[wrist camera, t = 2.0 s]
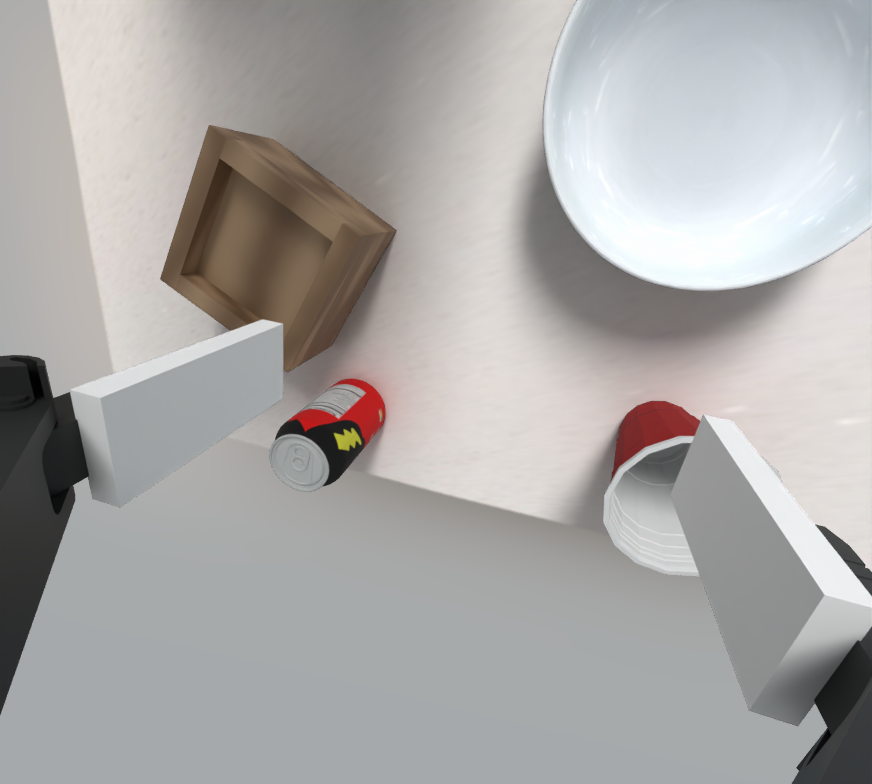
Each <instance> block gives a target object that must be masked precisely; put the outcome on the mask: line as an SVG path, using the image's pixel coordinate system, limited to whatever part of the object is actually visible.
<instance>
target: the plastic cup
mask: <svg viewBox="0 0 872 784" xmlns="http://www.w3.org/2000/svg"><path fill="white" fill-rule="evenodd" d="M700 422H701V421H699V420H698V419H697V418H695V417H694V416H692V415H690V414H689V413H687V412H686V411H685V410H684V409H683V408H682V407H679V406H676V405H674V404H671V403H668V402H666V401H650V402H647V403H644V404H641V405H638V406H636V407H635V408H634V409H633V410H631V411H630V412H629V413H628V414H627V415H626V417H625V419H624V420H623V422H622V424H621V426H620V430H619V437H618V439H617V444H616V453H615V462H614V470H613V472H612V479H611V481H610V484H609V486H608V487H607V489H606V491H605V494H604V513H603V523H604V525H605V527H606V529H607V531H608V533H609V535H610V537H611V539H612V541H613V543H614V545H615V546H616V547H617V548H618V549H619V550H620V551H622V552H623V553H624V554H626V555H627V556H628V557H629V558H630V559H631V560H633V561H634V562H635V563H636V564H639V565H641V566H644V567H647V568H650V569H653V570H655V571H658V572H661V573H664V574H671V575H689V576H700V575H699V573H698V570H697V567H696V564H695V562H694V559H693V556H692V553H691V551H690V548H689V545H688V542H687V540H686V537H685V534H684V532H683V529H682V526H681V523H680V521H679V518H678V515H677V512H676V510H675V507H674V504H673V502H672V499H671V496H670V494H671V491H672V489H673V487H674V484H675V482H676V479H677V477H678V475H679V472H680V470H681V467H682V465H683V463H684V460H685V458H686V455H687V453H688V451H689V448H690V446H691V443H692V441H693V438H694V436H695V434H696V431H697V429H698V426H699V424H700ZM760 456H761V455H760ZM761 457H762V456H761ZM762 458H763V457H762ZM763 460H764V461H765V462H766V463H767V465H768V466H769V467H770V468H771V470H772V471H773V472H774V473H775V475H776V476H777V477H778V479H779V480H780V481H781V482H782V480H781V477H780V474H779V471H778V470H776V469H775V468H774V467H773V466H772V465H771V464H770V463H769V462H768V461H767V460H765V459H764V458H763ZM782 484H783V483H782Z"/></svg>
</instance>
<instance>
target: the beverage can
mask: <svg viewBox="0 0 872 784" xmlns="http://www.w3.org/2000/svg"><path fill="white" fill-rule="evenodd" d="M384 419H385V405H384V402H383V400H382V398H381V396H380V394H379V393H378V392H377V391H376V390H375V389H374V388H373V387H372V386H371V385H369V384H368V383H366V382H364V381H361V380H358V379H345V380H341V381H339V382H337V383H336V384H334V385H333V386H332V387H331V388H329V389H328V390H327V391H325V392H324V393H323V394H322V395H320V396H319V397H318V398H316V399H315V400H314V401H313V402H311V403H310V404H309V405H307V406H306V407H305V408H304V409H302V410H301V411H300V412H298V413H297V414H296V415H295V416H293V417H292V418H291V419H290V420H288V421H287V422H286V423H284V424H283V425H282V426H281V428H280V429H279V431H278V433H277V435H276V438H275V442H274V443H273V444H272V446H271V449H270V455H269V457H270V463H271V466H272V468H273V470H274V472H275V474H276V475H277V476H278V478H279V479H280V480H281V481H282V482H283V483H285V484H286V485H287V486H289V487H291V488H293V489H296V490H298V491H304V492H311V491H315V490H317V489H319V488H321V487H322V486H326V485H329V484H331V483H333V482H335V481H336V480H337V479H338V478H339V477H340V476H341V475H342V474H343V473H344V471H345V470H346V469H347V468H348V467H349V465H350V464H351V463H352V462H353V461H354V459H355V458H356V457H357V456H358V454H359V453H360V452H361V451H362V450H363V448H364V447H365V446H366V445H367V444H368V442H369V441H370V440H371V439H372V438H373V436H374V435H375V434H376V433H377V432H378V430H379V429H380V428H381V426H382V425H383V422H384Z"/></svg>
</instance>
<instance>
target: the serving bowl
mask: <svg viewBox="0 0 872 784" xmlns="http://www.w3.org/2000/svg"><path fill="white" fill-rule="evenodd" d="M543 143H544V152H545V158H546V163H547V168H548V172H549V176H550V180H551V183H552V186H553V188H554V191H555V194H556V197H557V199H558V201H559V203H560V205H561V207H562V209H563V211H564V213H565V215H566V216H567V218H568V220H569V221H570V223H571V224H572V226H573V228H574V229H575V230H576V231H577V233H578V234H579V235H580V236H581V238H582V239H583V240H584V241H585V242H586V243H587V244H588V245H589V246H590V247H591V248H592V249H593V250H594V251H595V252H596V253H597V254H599V255H600V256H601V257H602V258H603V259H605V260H606V261H607V262H609V263H610V264H612V265H613V266H615V267H616V268H618V269H620V270H622V271H623V272H625V273H627V274H629V275H631V276H634V277H636V278H638V279H641V280H643V281H646V282H649V283H652V284H656V285H660V286H664V287H668V288H674V289H680V290H689V291H723V290H732V289H740V288H746V287H751V286H755V285H759V284H763V283H767V282H770V281H773V280H776V279H779V278H782V277H785V276H788V275H790V274H793V273H795V272H798V271H800V270H802V269H805V268H807V267H809V266H811V265H813V264H815V263H817V262H819V261H821V260H823V259H825V258H827V257H829V256H830V255H832V254H833V253H835V252H837V251H838V250H840V249H841V248H843V247H845V246H846V245H848V244H849V243H850V242H852V241H853V240H855V239H856V238H858V237H859V236H860V235H862V234H863V233H864V232H866V231H867V230H868V229H870V228H871V227H872V0H576V2H575V4H574V6H573V8H572V10H571V12H570V14H569V16H568V18H567V20H566V22H565V25H564V27H563V29H562V32H561V34H560V37H559V40H558V43H557V45H556V48H555V51H554V54H553V57H552V61H551V65H550V70H549V74H548V78H547V84H546V90H545V96H544V104H543Z"/></svg>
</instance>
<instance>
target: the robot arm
mask: <svg viewBox="0 0 872 784" xmlns="http://www.w3.org/2000/svg"><path fill="white" fill-rule="evenodd" d="M282 399H283V324H282V323H277V322H273V321H268V320H263V319H262V320H260V321H257V322H254V323H251V324H249V325H246V326H243V327H240V328H238V329H235V330H232V331H229V332H227V333H224V334H221V335H218V336H216V337H213V338H210V339H207V340H205V341H202V342H199V343H196V344H194V345H191V346H188V347H185V348H183V349H180V350H177V351H174V352H172V353H169V354H166V355H163V356H161V357H158V358H155V359H152V360H150V361H147V362H144V363H141V364H139V365H136V366H133V367H130V368H128V369H125V370H122V371H119V372H117V373H114V374H111V375H108V376H106V377H103V378H100V379H97V380H95V381H92V382H89V383H86V384H84V385H81V386H78V387H76V388H73V389H70V392H69V393H66V394H63V395H61V396H58V397H55V398H53V395H52V391H51V386H50V382H49V378H48V373H47V369H46V365H45V361H44V360H42V359H40V358H38V357H32V356H22V355H21V356H20V355H10V356H0V714H1V711H2V709H3V706H4V703H5V700H6V697H7V694H8V691H9V688H10V686H11V683H12V680H13V677H14V674H15V671H16V668H17V666H18V663H19V660H20V657H21V654H22V651H23V648H24V645H25V642H26V640H27V637H28V634H29V631H30V628H31V625H32V622H33V620H34V617H35V614H36V611H37V608H38V605H39V602H40V600H41V597H42V594H43V591H44V588H45V585H46V582H47V579H48V576H49V574H50V571H51V568H52V565H53V562H54V560H55V556H56V554H57V551H58V548H59V545H60V542H61V540H62V536H63V534H64V531H65V528H66V525H67V522H68V519H69V517H70V514H71V511H72V508H73V505H74V502H75V492H74V487H73V485H74V484H76V483H77V482H79V481H81V480H83V479H85V478H86V477H88V480H89V484H90V489H91V493H92V498H93V499H95V500H98V501H101V502H104V503H107V504H110V505H113V506H116V507H119V508H120V507H122V506H124V505H125V504H127V503H128V502H130V501H131V500H133V499H134V498H135V497H137V496H138V495H140V494H141V493H143V492H144V491H146V490H147V489H149V488H150V487H152V486H153V485H155V484H156V483H158V482H159V481H161V480H162V479H164V478H165V477H167V476H168V475H170V474H171V473H173V472H174V471H176V470H177V469H179V468H180V467H182V466H183V465H185V464H186V463H188V462H189V461H190V460H192V459H194V458H195V457H197V456H198V455H200V454H201V453H203V452H204V451H206V450H207V449H209V448H210V447H211V446H213V445H215V444H216V443H218V442H219V441H220V440H222V439H223V438H225V437H226V436H228V435H229V434H231V433H232V432H234V431H235V430H237V429H238V428H240V427H241V426H243V425H244V424H246V423H247V422H249V421H250V420H252V419H253V418H255V417H256V416H258V415H259V414H261V413H262V412H264V411H265V410H267V409H268V408H270V407H271V406H273V405H274V404H276V403H277V402H279V401H280V400H282ZM670 496H671V499H672V502H673V504H674V507H675V510H676V512H677V515H678V518H679V521H680V523H681V526H682V529H683V532H684V534H685V537H686V540H687V542H688V545H689V548H690V551H691V553H692V556H693V559H694V562H695V564H696V567H697V570H698V573H699V575H700V578H701V581H702V583H703V586H704V589H705V592H706V594H707V597H708V600H709V602H710V605H711V608H712V611H713V613H714V616H715V619H716V622H717V624H718V627H719V630H720V633H721V635H722V638H723V641H724V643H725V646H726V649H727V652H728V654H729V657H730V660H731V662H732V665H733V668H734V671H735V674H736V676H737V679H738V682H739V684H740V687H741V690H742V692H743V695H744V698H745V701H746V703H747V706H748V709H749V711H752V712H755V713H758V714H761V715H764V716H767V717H771V718H774V719H777V720H780V721H783V722H786V723H789V724H792V725H795V726H798V725H799V724H800V723H801V721H802V720H803V719H804V717H805V716H806V714H807V713H808V712H809V711H810V709H811V708H812V706H813V705H814V704H816V706H817V707H818V709H819V711H820V713H821V715H822V717H823V719H824V721H825V723H826V725H827V727H828V728H827V729H826V731H825V732H824V733H823V734H822V736H821V737H820V738H819V739H818V741H817V742H816V743H815V745H814V746H813V747H812V748H811V750H810V751H809V752H808V753H807V755H806V756H805V757H804V759H803V760H802V761H801V762H800V764H799V765H798V766H797V769H798V770H799V772H798V774H797V776H796V777H795V779H794V781H793V782H792V784H872V572H871V571H870V570H869V569H868V568H865V564H864V562H863V561H862V560H861V559H860V558H859V557H858V555H857V554H856V553H855V552H854V551H853V549H852V548H851V547H850V546H849V545H848V544H846V543H845V542H844V541H843V540H841V539H840V538H839V537H837V536H836V535H835V534H833V533H832V532H831V531H830V530H828V529H827V528H826V527H823V526H819V525H815V524H814V523H813V521H812V520H811V519H810V518H809V516H808V515H807V514H806V513H805V511H804V510H803V509H802V508H801V506H800V505H799V504H798V503H797V501H796V500H795V499H794V497H793V496H792V495H791V494H790V492H789V491H788V490H787V489H786V487H785V486H784V485H783V484H782V482H781V481H780V480H779V479H778V477H777V476H776V475H775V473H774V472H773V471H772V470H771V468H770V467H769V466H768V465H767V463H766V462H765V461H764V460H763V458H762V457H761V456H760V454H759V453H758V452H757V451H756V449H755V448H754V447H753V446H752V444H751V443H750V442H749V441H748V439H747V438H746V437H745V436H744V434H743V433H742V432H741V430H740V429H739V428H738V427H737V425H736V424H735V423H734V422H733V421H731V420H726V419H722V418H717V417H713V416H708V415H703V417H702V419H701V422H700V424H699V426H698V429H697V431H696V434H695V436H694V438H693V441H692V443H691V446H690V448H689V451H688V453H687V455H686V458H685V460H684V463H683V465H682V467H681V470H680V472H679V475H678V477H677V479H676V482H675V484H674V487H673V489H672V491H671V494H670Z"/></svg>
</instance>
